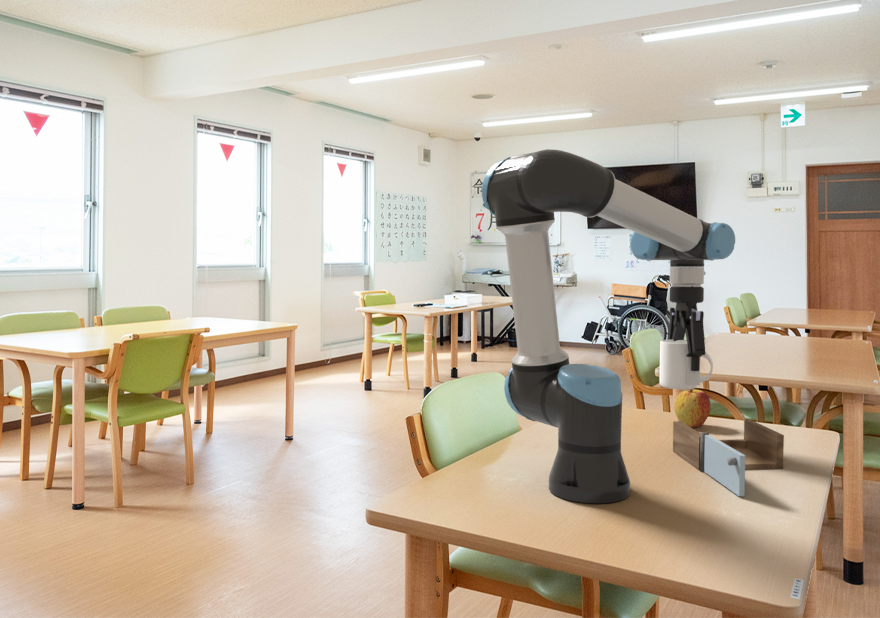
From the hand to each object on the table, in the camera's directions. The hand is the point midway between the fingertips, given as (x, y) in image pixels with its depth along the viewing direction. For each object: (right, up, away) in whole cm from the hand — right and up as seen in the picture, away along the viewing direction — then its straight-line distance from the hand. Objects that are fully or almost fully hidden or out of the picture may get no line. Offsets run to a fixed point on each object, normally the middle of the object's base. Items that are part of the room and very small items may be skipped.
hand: (684, 381), depth 163 cm
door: (-3, -17, -29) cm, 33 cm away
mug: (0, -2, -1) cm, 2 cm away
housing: (+5, -16, -12) cm, 20 cm away
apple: (+8, -14, +18) cm, 25 cm away
